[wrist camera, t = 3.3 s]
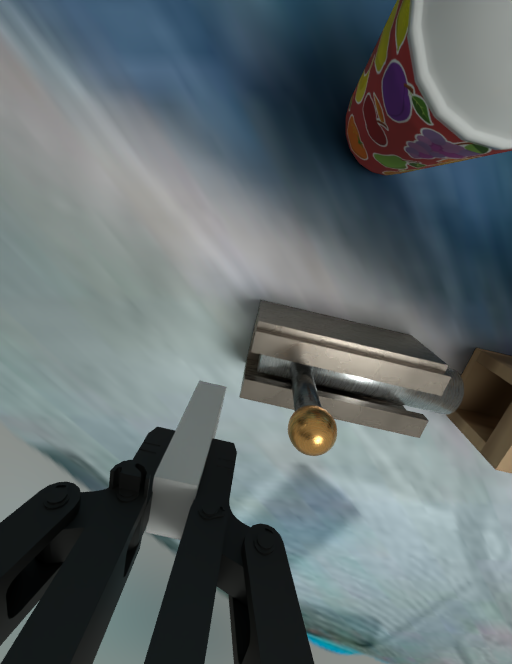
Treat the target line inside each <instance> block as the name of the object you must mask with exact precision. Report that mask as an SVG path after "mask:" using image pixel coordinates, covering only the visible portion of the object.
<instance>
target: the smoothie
mask: <svg viewBox="0 0 512 664" xmlns="http://www.w3.org/2000/svg"><path fill="white" fill-rule="evenodd" d="M346 137H347V141H348V144H349V148H350V151H351V152H352V154H353V155H354V157H355V158H356V159H357V161H358V162H359V164H361V165H362V166H364V167H365V168H367V169H368V170H370V171H371V172H375V173H379V174H383V175H392V174H401V173H405V172H410V171H415V170H420V169H424V168H429V167H434V166H439V165H444V164H449V163H454V162H458V161H463V160H468V159H473V158H478V157H483V156H488V155H492V154H497V153H502V152H507V151H512V0H397V2H396V4H395V6H394V8H393V10H392V12H391V14H390V17H389V19H388V21H387V23H386V25H385V27H384V29H383V31H382V34H381V36H380V38H379V40H378V42H377V44H376V46H375V48H374V50H373V53H372V55H371V57H370V59H369V61H368V63H367V65H366V67H365V69H364V72H363V74H362V76H361V78H360V80H359V82H358V84H357V86H356V88H355V91H354V93H353V95H352V97H351V99H350V103H349V107H348V110H347V114H346Z"/></svg>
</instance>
